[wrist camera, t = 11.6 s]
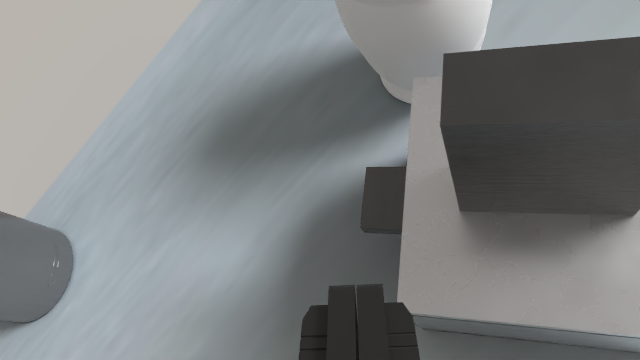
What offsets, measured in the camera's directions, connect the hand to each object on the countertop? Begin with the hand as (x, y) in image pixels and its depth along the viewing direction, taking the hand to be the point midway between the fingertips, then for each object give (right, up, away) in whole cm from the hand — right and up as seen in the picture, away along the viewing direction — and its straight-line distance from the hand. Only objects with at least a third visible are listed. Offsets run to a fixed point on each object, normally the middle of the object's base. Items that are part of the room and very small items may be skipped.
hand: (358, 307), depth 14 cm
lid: (+11, +3, +12) cm, 16 cm away
